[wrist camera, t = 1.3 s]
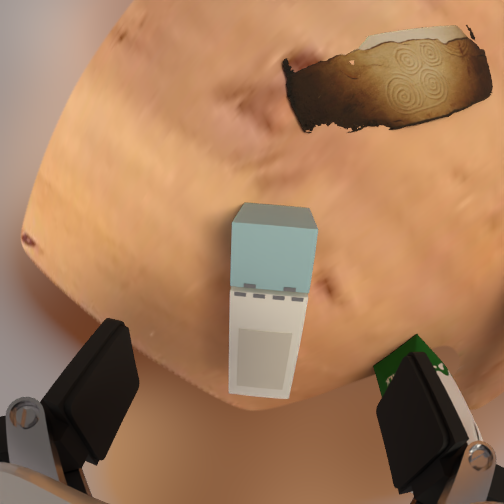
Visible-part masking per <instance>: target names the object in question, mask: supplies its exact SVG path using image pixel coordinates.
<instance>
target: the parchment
mask: <svg viewBox="0 0 504 504" xmlns="http://www.w3.org/2000/svg"><path fill="white" fill-rule="evenodd" d="M466 26H467V25H466ZM467 28H468V26H467ZM468 30H469V31H470V35H471V38H472V39H474V40H475V37H474V35H473V32H472V31H471V28H468ZM350 60H354V65H352V64H351V63H350V62H349V61H350ZM288 64H289V63H288V60H287V58H286V59H284V61H283V67H284V71H285V73H286V77H287V84H286V85H287V88H288V97H289V99H290V101H291V105H292V107H293V109H294V111H295V113H296V115H297V117H298V119H299V121H300V123H301V125H302V127H303V129H304V132H305V130H309V129H310V131H312V130H313V128H314V127H315V124H316V125H318V126H320V125H321V124H326V123H327V124H326V125H327V126H329V125H330V124H331V123H332V122H334V124H337V126H341V127H344V128H345V129H346V128H347V129H348V128H352V130H353V131H352V132H354V131H358V130H361V129H363V128H364V127H367V126H379V125H384V126H386V127H390V129H389V130H392V129H400V128H402V127H406V126H410V125H417V124H421V123H424V122H429V121H432V120H435V119H439V118H443V117H449V116H450V115H452V114H453V113H455V112H458V111H461V110H464V109H466V108H468V107H470V106H471V105H473V104H475V103H477V102H480V101H483V100H485V99H487V98H488V97H489V96H490V95H491V94H490V93H492V92H491V91H492V87H493V86H492V79H491V74H490V70H489V66H488V63H487V58H486V56H485V51H484V50H482V49H479V47H478V46H477V44H475V43H474V42H473V41H472V40H470V39H469V38H468V37H467V36H466V35H465V34H464V33H463V32H462V30H461V29H460V28H459V27H458V26H456V25H451V26H435V27H424V28H423V27H422V28H415V29H407V30H400V31H394V32H388V33H381V34H376V35H371V36H368V37H367V38H366V40H365V41H364V42H363V43H362V44H361V46H360V47H359V48H358V49H355V50H353V51H352V52H350V53H348V54H347V55H336V56H334V57H333V58H330V59H328V60H327V61H320V62H318V63H316V64H313V65H311V66H308V67H307V68H304V69H302V70H300V71H298V72H293V71H294V70H292V71H291V70H290V69H291V68H292V67H291V66H289V65H288ZM363 125H364V126H363ZM359 126H361V128H359ZM357 127H358V129H357ZM308 133H312V132H308ZM347 133H348V132H347Z"/></svg>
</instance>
